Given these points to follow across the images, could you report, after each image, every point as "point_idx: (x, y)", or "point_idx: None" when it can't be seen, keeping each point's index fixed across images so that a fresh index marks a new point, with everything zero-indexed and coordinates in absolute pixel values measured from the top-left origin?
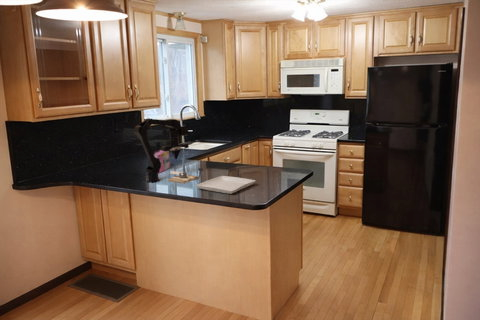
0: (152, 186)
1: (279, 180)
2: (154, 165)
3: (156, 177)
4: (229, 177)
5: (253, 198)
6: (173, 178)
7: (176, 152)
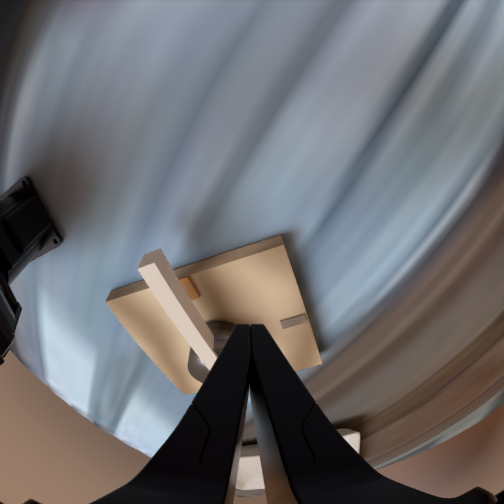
0: (23, 317)
1: (417, 445)
2: None
3: (24, 267)
4: (355, 444)
5: (262, 489)
6: (147, 315)
7: (271, 492)
